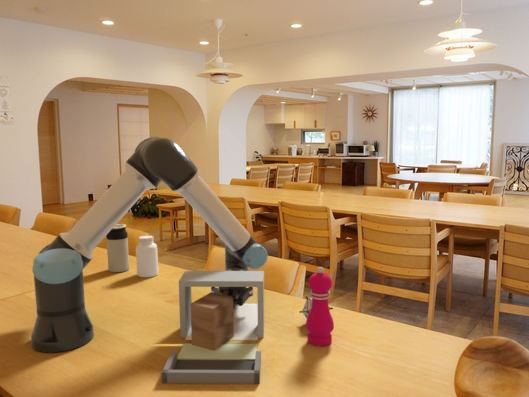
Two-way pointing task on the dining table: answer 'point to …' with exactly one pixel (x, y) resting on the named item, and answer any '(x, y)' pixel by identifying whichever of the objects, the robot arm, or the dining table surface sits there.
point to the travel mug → (117, 249)
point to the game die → (308, 307)
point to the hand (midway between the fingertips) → (226, 311)
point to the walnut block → (212, 320)
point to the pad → (218, 352)
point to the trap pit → (212, 370)
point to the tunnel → (245, 316)
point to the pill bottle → (146, 257)
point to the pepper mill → (320, 310)
